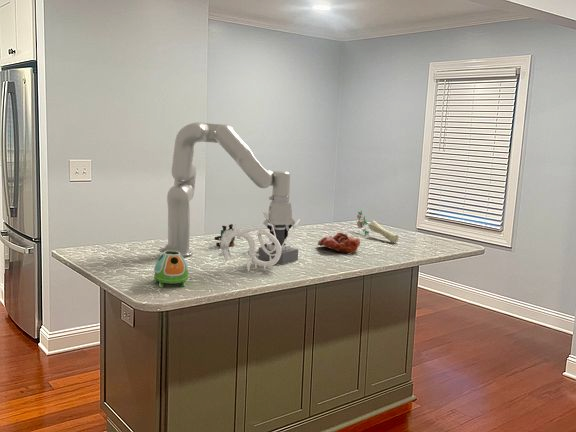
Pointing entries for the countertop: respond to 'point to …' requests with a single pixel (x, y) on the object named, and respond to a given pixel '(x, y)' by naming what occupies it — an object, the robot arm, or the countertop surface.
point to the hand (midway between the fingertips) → (278, 238)
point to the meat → (340, 243)
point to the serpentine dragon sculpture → (253, 244)
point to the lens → (280, 233)
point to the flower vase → (376, 229)
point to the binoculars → (225, 232)
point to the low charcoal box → (286, 254)
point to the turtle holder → (171, 268)
